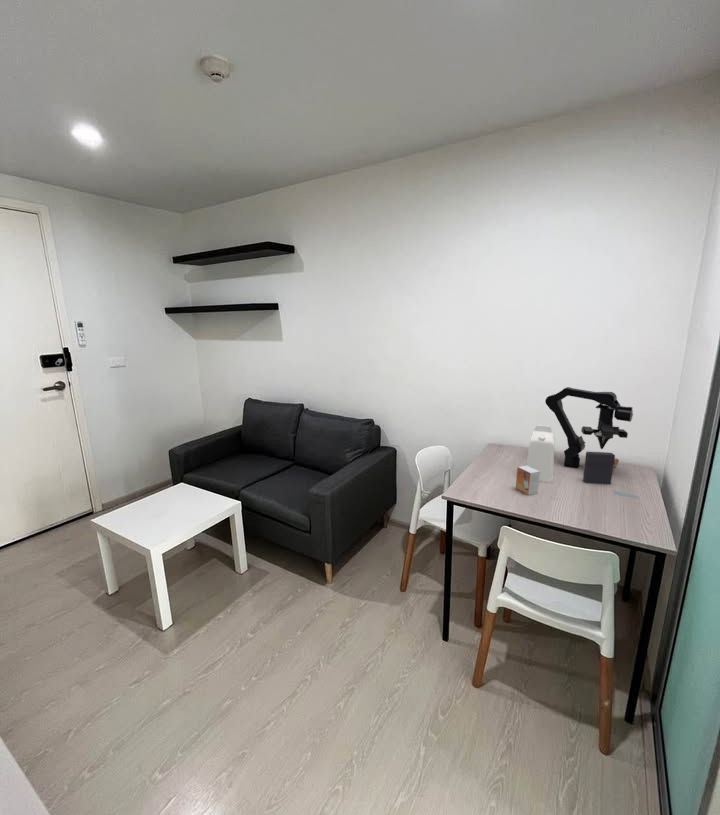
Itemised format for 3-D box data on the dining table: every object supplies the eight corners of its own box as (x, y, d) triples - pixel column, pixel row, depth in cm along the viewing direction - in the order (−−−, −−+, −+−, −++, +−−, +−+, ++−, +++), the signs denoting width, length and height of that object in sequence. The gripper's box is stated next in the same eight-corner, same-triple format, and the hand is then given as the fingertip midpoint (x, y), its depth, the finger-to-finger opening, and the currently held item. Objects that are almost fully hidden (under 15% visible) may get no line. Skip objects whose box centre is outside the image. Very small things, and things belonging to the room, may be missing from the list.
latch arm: (587, 475, 194) (588, 466, 193) (583, 474, 196) (584, 464, 195) (618, 468, 203) (619, 459, 202) (614, 467, 206) (615, 457, 205)
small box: (515, 488, 182) (517, 466, 179) (524, 486, 184) (526, 465, 181) (528, 495, 174) (530, 472, 172) (538, 493, 176) (540, 471, 174)
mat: (614, 495, 174) (614, 494, 174) (611, 484, 185) (611, 483, 185) (638, 499, 170) (638, 498, 170) (634, 487, 181) (634, 487, 181)
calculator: (607, 482, 188) (611, 452, 184) (611, 486, 183) (615, 455, 180) (582, 480, 190) (585, 450, 186) (585, 484, 185) (588, 453, 182)
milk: (552, 475, 197) (558, 424, 191) (552, 483, 187) (557, 430, 181) (526, 471, 202) (531, 421, 197) (524, 479, 192) (528, 427, 187)
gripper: (587, 420, 188) (583, 451, 192) (633, 423, 183) (628, 456, 186) (583, 415, 199) (579, 445, 202) (626, 418, 193) (621, 448, 196)
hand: (601, 448), depth 196 cm, fingers closed
